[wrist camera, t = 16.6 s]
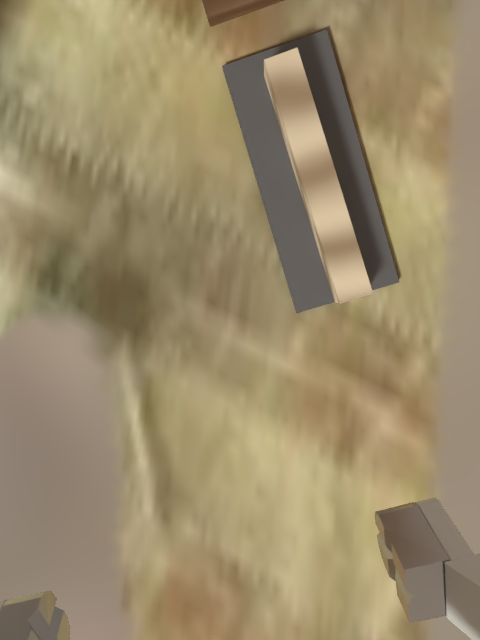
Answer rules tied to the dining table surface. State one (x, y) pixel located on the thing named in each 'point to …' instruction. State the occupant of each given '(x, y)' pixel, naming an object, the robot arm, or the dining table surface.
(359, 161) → the mat
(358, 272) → the bar
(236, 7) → the stand
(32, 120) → the dining table surface
